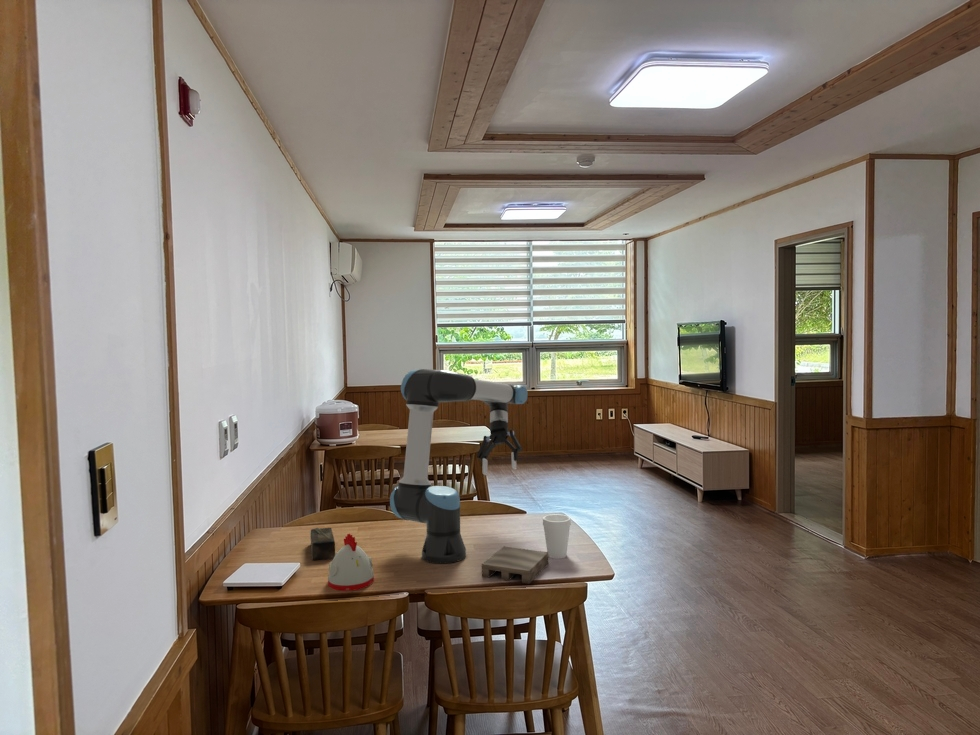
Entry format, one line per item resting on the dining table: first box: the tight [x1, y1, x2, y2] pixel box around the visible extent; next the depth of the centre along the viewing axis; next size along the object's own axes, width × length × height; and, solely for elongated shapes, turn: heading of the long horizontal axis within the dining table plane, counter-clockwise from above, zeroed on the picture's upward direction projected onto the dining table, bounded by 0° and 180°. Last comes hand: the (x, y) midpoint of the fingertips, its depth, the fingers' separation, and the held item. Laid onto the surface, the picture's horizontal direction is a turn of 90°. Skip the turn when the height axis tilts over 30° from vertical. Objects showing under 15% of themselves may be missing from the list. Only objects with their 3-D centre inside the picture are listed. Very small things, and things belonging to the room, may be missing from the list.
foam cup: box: [542, 513, 572, 560], centre depth 216 cm, size 10×9×13 cm
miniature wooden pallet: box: [481, 546, 550, 585], centre depth 203 cm, size 18×16×4 cm
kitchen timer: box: [327, 533, 375, 592], centre depth 195 cm, size 14×14×15 cm
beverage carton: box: [310, 527, 336, 561], centre depth 225 cm, size 8×19×7 cm, turn 17°
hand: (499, 471), depth 253 cm, fingers open, 13 cm apart
